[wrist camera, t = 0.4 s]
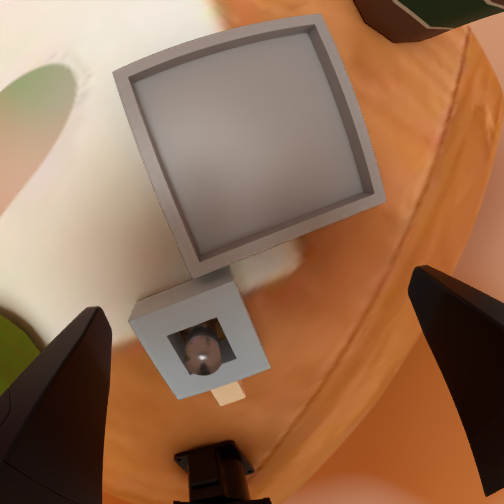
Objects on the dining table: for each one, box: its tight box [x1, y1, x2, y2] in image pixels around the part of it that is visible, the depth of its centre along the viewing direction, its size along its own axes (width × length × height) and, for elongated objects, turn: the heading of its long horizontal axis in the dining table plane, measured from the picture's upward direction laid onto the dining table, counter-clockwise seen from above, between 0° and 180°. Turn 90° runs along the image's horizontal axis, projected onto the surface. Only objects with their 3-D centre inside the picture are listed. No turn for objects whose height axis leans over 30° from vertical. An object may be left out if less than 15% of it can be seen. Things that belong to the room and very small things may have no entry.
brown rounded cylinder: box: [185, 318, 222, 376], centre depth 19 cm, size 2×2×4 cm
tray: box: [112, 14, 387, 279], centre depth 18 cm, size 14×14×2 cm
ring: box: [128, 265, 271, 406], centre depth 20 cm, size 9×7×3 cm
